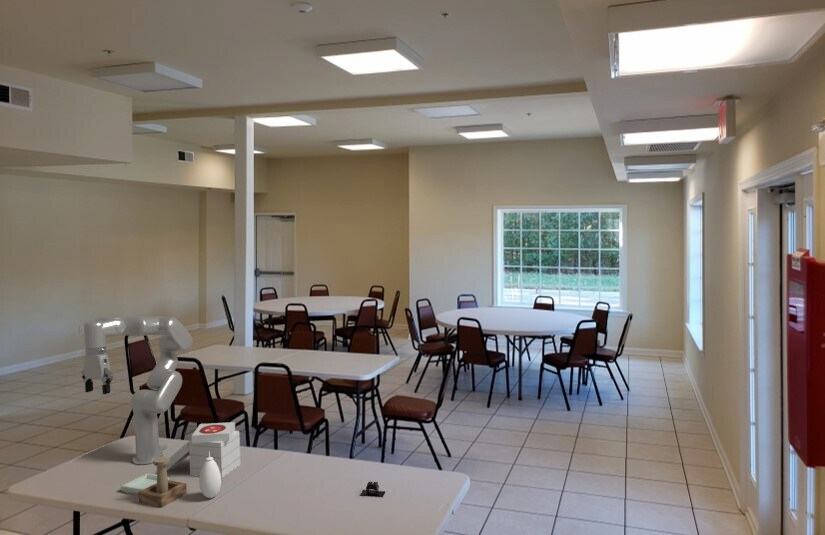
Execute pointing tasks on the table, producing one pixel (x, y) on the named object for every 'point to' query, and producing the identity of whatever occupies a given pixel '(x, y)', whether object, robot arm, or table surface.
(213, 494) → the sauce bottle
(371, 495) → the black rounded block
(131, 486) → the tray
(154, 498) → the small wooden box
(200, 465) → the pizza box stack
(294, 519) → the table surface
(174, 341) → the robot arm
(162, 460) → the handle
